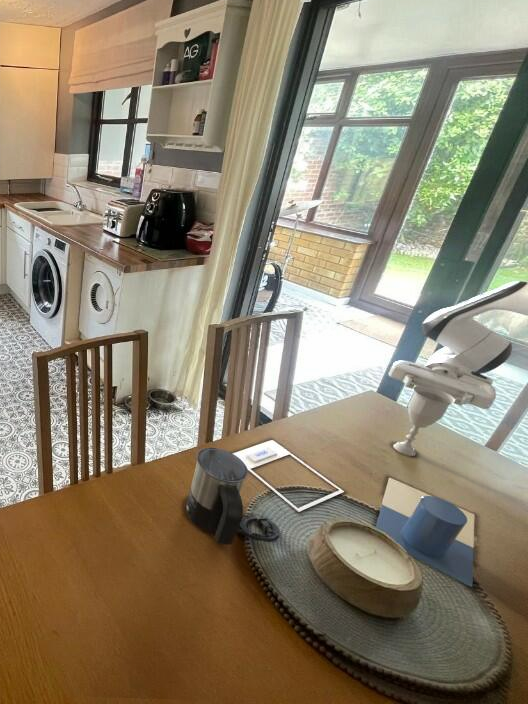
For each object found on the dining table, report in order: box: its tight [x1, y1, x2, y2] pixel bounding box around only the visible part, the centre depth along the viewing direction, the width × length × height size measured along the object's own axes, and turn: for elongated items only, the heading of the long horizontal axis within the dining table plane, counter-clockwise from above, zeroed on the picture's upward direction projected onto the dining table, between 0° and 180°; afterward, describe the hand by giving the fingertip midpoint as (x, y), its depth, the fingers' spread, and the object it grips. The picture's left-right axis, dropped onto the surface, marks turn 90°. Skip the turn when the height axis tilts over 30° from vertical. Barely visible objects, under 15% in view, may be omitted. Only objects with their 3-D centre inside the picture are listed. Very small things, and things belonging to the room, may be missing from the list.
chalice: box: [393, 385, 456, 457], centre depth 100 cm, size 7×7×18 cm
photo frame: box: [232, 439, 345, 513], centre depth 96 cm, size 15×1×18 cm
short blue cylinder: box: [402, 495, 467, 557], centre depth 78 cm, size 6×6×9 cm
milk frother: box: [185, 447, 281, 546], centre depth 82 cm, size 14×16×15 cm
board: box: [375, 477, 476, 588], centre depth 84 cm, size 22×14×1 cm, turn 134°
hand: (433, 393), depth 106 cm, fingers open, 8 cm apart
